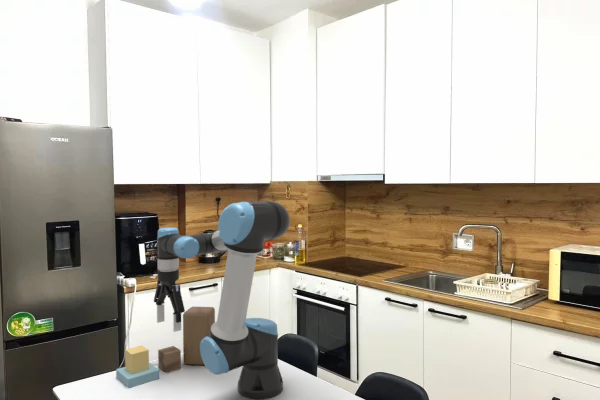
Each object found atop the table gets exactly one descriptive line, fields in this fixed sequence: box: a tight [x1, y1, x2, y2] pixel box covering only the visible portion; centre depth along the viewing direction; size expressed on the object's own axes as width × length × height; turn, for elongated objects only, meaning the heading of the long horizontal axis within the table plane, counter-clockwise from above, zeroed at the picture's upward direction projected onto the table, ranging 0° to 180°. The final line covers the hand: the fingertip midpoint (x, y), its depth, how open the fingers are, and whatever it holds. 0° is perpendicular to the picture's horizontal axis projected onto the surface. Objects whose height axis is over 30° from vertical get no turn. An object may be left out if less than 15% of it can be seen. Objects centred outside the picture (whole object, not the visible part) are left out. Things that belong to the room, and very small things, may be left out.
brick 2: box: [157, 345, 182, 374], centre depth 162 cm, size 6×6×7 cm
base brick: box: [115, 362, 160, 389], centre depth 154 cm, size 11×11×3 cm
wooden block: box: [182, 306, 216, 366], centre depth 169 cm, size 10×10×20 cm
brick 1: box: [124, 345, 150, 374], centre depth 154 cm, size 6×6×7 cm
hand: (168, 326), depth 162 cm, fingers open, 13 cm apart
